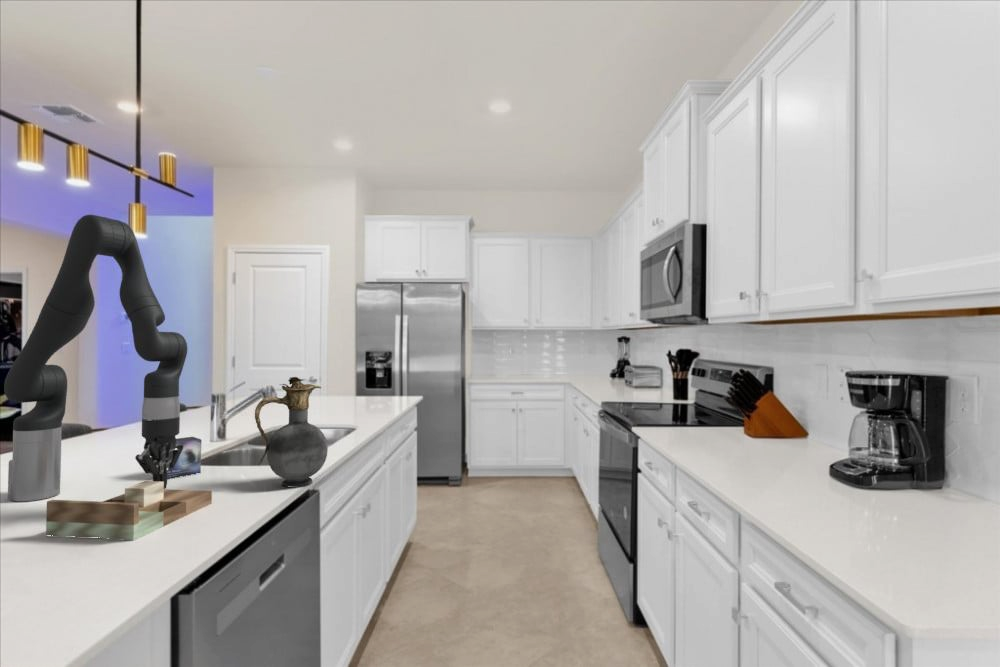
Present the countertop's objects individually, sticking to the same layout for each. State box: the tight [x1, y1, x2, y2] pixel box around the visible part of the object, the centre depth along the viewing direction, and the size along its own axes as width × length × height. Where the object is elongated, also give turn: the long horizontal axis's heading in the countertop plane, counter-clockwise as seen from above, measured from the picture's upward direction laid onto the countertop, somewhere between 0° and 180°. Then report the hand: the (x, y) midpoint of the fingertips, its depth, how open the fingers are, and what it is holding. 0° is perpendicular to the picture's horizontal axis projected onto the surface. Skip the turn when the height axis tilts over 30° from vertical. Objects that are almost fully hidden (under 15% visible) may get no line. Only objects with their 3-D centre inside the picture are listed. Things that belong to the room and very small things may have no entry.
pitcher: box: [254, 376, 329, 487], centre depth 144 cm, size 11×19×30 cm, turn 126°
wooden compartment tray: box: [45, 488, 213, 541], centre depth 116 cm, size 19×24×7 cm
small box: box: [167, 436, 203, 480], centre depth 153 cm, size 11×6×10 cm, turn 143°
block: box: [124, 480, 164, 507], centre depth 117 cm, size 4×6×4 cm
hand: (159, 489), depth 122 cm, fingers closed
